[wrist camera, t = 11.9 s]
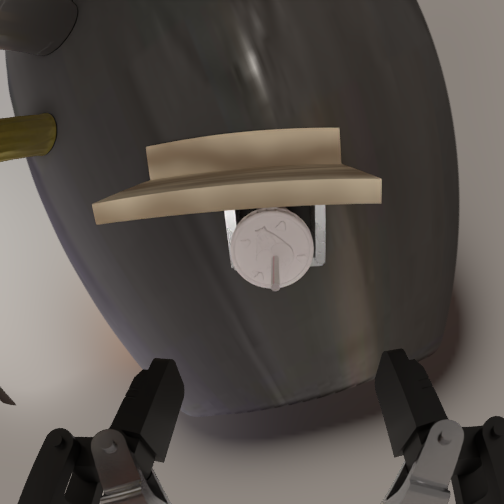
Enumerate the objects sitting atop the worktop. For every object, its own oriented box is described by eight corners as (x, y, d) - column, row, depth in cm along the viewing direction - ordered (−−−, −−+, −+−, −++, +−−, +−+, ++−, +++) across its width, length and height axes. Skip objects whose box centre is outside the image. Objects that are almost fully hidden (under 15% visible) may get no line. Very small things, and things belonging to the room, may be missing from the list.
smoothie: (259, 254, 31) (249, 334, 18) (231, 204, 29) (198, 257, 16) (311, 230, 30) (338, 300, 17) (286, 177, 28) (298, 209, 15)
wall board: (149, 146, 27) (83, 155, 16) (337, 128, 25) (379, 121, 14) (156, 192, 29) (96, 224, 18) (339, 177, 27) (381, 203, 16)
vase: (45, 104, 25) (-34, 108, 12) (63, 131, 26) (-22, 142, 13) (26, 137, 27) (-48, 152, 14) (43, 164, 28) (-35, 187, 15)
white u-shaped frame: (227, 184, 28) (221, 189, 25) (318, 178, 27) (324, 183, 24) (236, 262, 32) (232, 276, 29) (319, 258, 31) (324, 272, 28)
